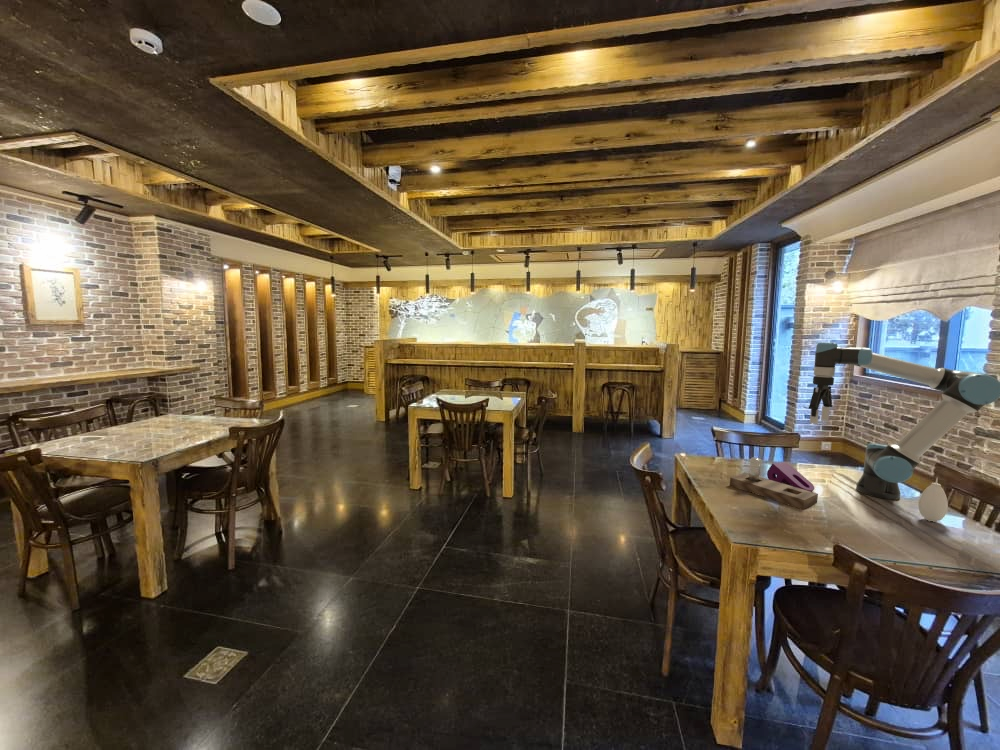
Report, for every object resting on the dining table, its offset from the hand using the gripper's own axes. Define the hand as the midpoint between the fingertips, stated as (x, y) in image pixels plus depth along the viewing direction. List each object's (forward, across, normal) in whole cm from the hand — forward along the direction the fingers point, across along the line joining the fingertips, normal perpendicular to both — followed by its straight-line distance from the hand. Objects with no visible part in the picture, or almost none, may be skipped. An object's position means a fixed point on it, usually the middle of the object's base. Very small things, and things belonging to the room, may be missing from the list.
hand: (819, 422), depth 191 cm
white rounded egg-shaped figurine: (+33, -2, +39) cm, 51 cm away
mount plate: (+32, +24, -8) cm, 41 cm away
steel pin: (+32, +24, -16) cm, 43 cm away
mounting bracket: (+32, +5, -7) cm, 34 cm away
